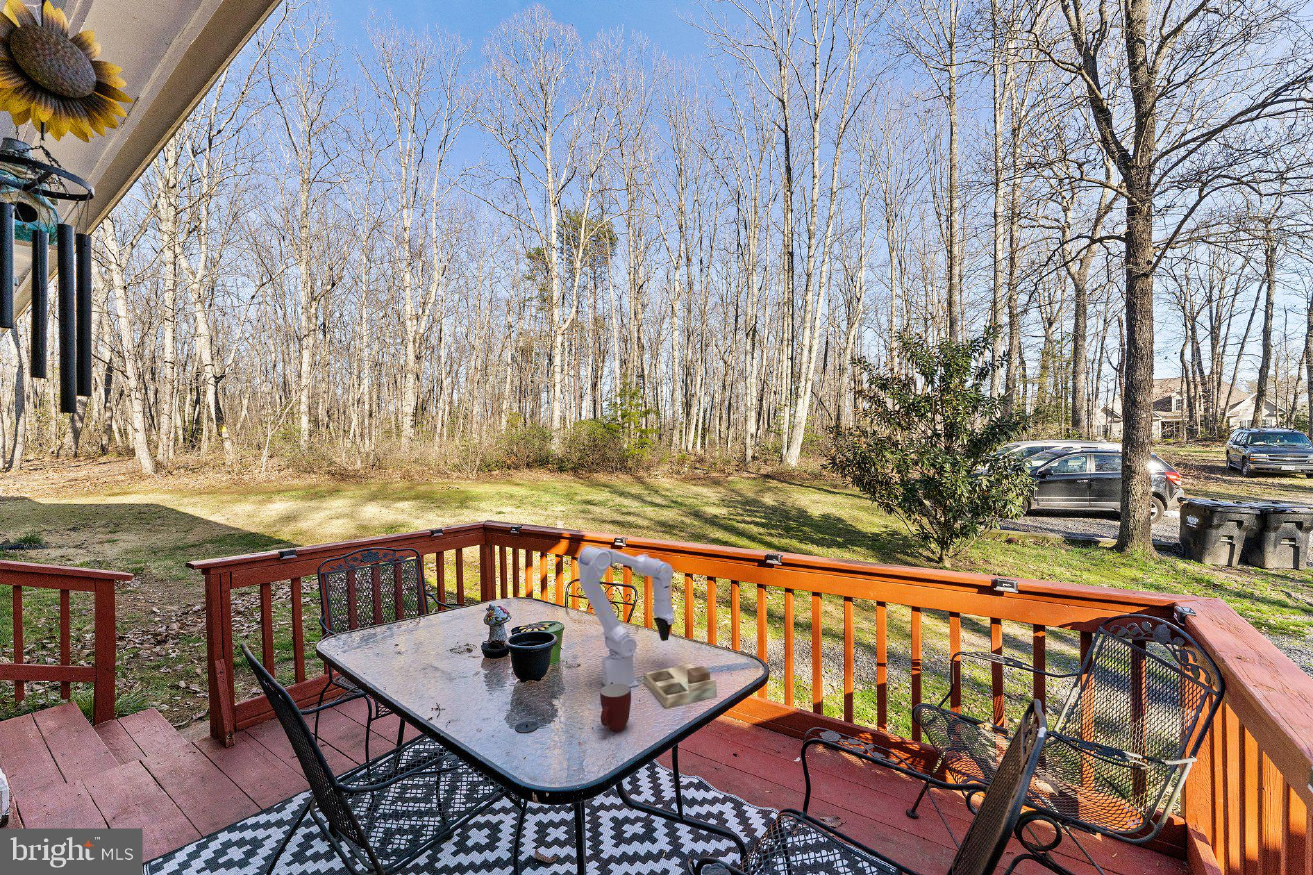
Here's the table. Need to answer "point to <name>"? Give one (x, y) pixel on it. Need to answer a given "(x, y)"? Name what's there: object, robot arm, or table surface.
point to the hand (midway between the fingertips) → (664, 639)
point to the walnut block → (698, 674)
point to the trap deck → (678, 686)
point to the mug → (615, 706)
